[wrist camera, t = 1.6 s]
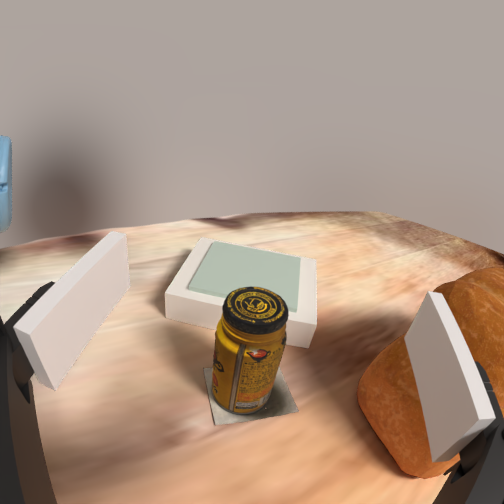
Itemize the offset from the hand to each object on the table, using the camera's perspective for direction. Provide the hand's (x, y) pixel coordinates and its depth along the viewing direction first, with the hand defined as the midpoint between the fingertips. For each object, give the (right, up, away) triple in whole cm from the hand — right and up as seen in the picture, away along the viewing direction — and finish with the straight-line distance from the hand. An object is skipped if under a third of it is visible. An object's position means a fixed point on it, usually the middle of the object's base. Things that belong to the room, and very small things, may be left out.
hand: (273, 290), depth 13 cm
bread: (+24, -17, +18) cm, 34 cm away
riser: (-2, -5, +32) cm, 32 cm away
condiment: (-1, -13, +18) cm, 22 cm away
